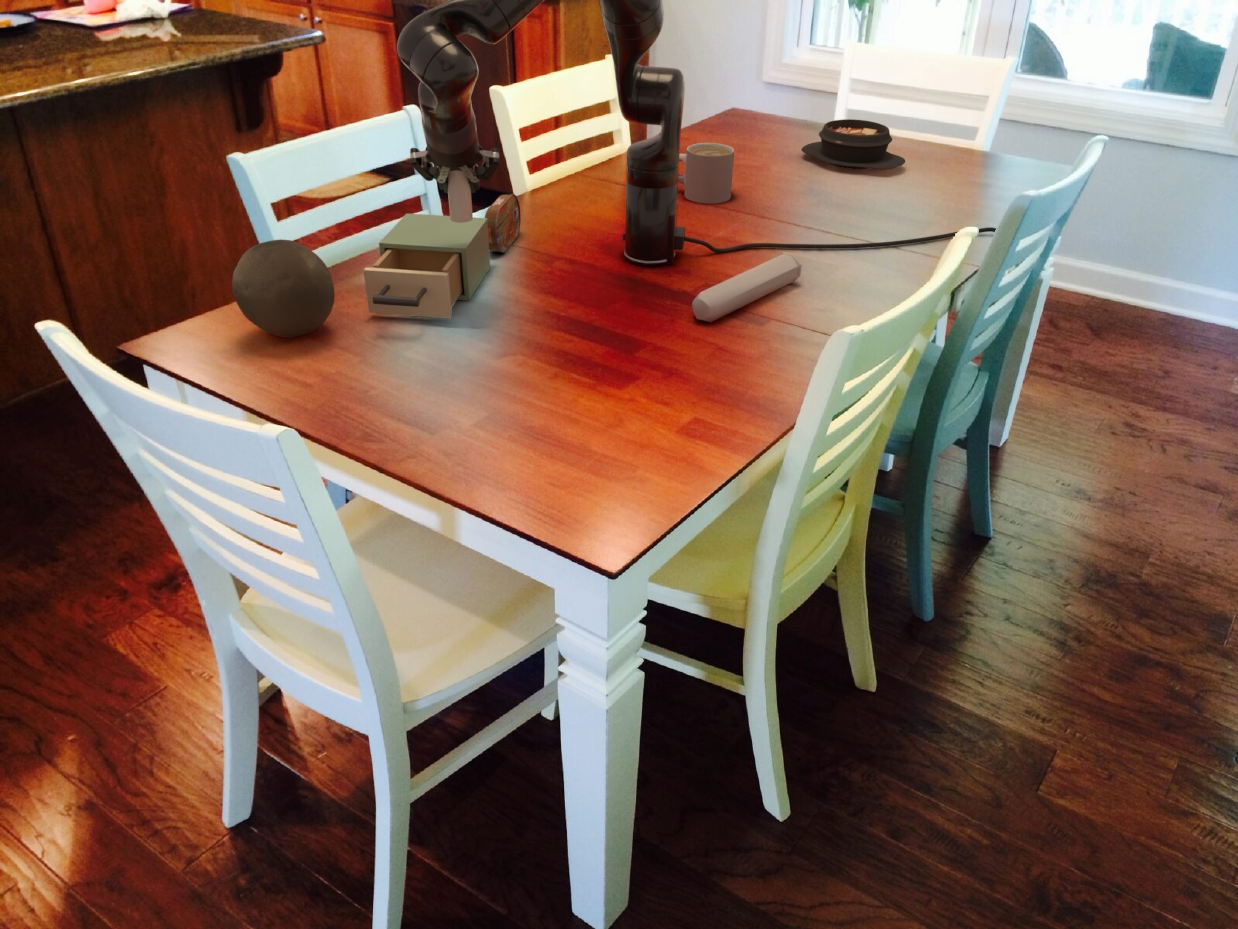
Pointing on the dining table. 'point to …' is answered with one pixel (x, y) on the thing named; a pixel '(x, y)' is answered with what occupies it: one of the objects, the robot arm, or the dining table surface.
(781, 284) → the tube
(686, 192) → the coffee mug
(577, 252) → the dining table surface
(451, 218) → the salt shaker
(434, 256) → the drawer
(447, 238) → the cabinet
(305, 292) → the dark brown ball
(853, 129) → the casserole
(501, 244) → the tin
